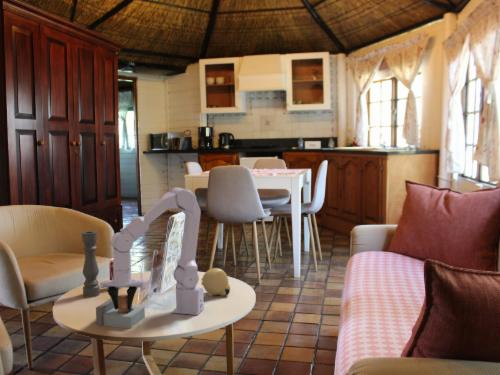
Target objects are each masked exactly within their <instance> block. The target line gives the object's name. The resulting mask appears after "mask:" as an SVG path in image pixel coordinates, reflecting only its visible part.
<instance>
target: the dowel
mask: <svg viewBox="0 0 500 375" xmlns="http://www.w3.org/2000/svg"><path fill="white" fill-rule="evenodd" d="M118 313H124V314H128V313H129V310H128V296H127V294H118Z"/></svg>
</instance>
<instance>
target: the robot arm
mask: <svg viewBox="0 0 500 375" xmlns="http://www.w3.org/2000/svg"><path fill="white" fill-rule="evenodd" d="M178 208H179V209H180V211H181V212H182V213H183V214H184V215H185V216H184V223H183V233H182V239H181V240H182V241H181V248H180V258H179V259H178V261H177V263H176V266H175V269H174V270H173V274H172V276H173V279H174V280H175V281H176V284H175V308H174V309H173V311H172V312H171V313H172V314H181V315H193V316H198V315H199V314H200V313H201V312H202V311H203V309H205V306H204V304H205V303H204V301H205V300H204V287H201V286H198V283H199V280H200V279H199V274H198V264H197V263H196V256H197V248H198V247H197V246H198V241H199V240H198V238H199V229H200V222H201V214H202V213H201V211H202V210H201V208H200V205H199V203H198V201H197V196H196V195H195V193H194V192H193V191H192V190H190V189H188V188H187V189H186V188H182V187H179V186H177V187H175V186H174V187H173V188H171V189H170V190H169V191H168V192H165V193H164V195H163V196H161V198H160V199H159V200H158V201H157V202H156V203H155V204H154V205H153V206H151V208H150V209H148V211H147V212H145V214H144V215H142V216H136V217H132V218H131V219H130V221H131V222H128V224H127V225H126V226H124V227H123V228H122V227H121V229H120V230H119V232H116V233H114V234H113V235H112V237H111V240H110V245H111V247H112V258H113V275H114V280H110V279H109V280H101V281H100V282H99V288H100V289H104V288H107V294H108V296H110V299H112V301H113V304H114V308H115V309H118V296H119V291H120V289H122V288H124V289H125V288H127V289H126V295H127V296H128V310H130V309H131V308H132V306H133V301H134V297H135V294H136V293H137V290H138V289H139V288H140V289H144V288H145V287H146V281H145V280H139V279H138V280H136V279H132V259H131V258H132V257H131V256H132V255H131V249H132V248H133V245H134V242H137V240H138V239H139V238H140V237H142V236H143V235H144V234H145V233H146V232H147V231H148V230H149V228H150V224H151V223H152V222H154V221H155V220H156V219H157V218H158V217H160V216H161V215H162V214H163V213H164V212H166V211H167V210H171V209H178ZM119 288H120V289H119Z"/></svg>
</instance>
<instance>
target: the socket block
mask: <svg viewBox="0 0 500 375" xmlns="http://www.w3.org/2000/svg"><path fill="white" fill-rule="evenodd" d="M145 317H146V310H145V306H135V305H132V308H131V309H130V310H129V313H128V314H124V313H118V309H115V308H113V309H111V310H109V311H108V312H106V313H105V314H103V327H104V326H107V327H114V328H115V327H116V328H117V327H118V328H125V329H127V328H128V329H132V328H133V327H134V326H137V324H138V323H140V322H141V321H142V320H144V318H145Z"/></svg>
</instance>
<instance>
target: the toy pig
mask: <svg viewBox="0 0 500 375" xmlns="http://www.w3.org/2000/svg"><path fill="white" fill-rule="evenodd" d="M200 284H201V286H203V290H205V291H206V292H207V294H206V295H207V296H208V297H210V296H221V297H222V296H223V297H224V296H227V295H230V291H231V285H230V284H229V277H228V275H227V273H226V272H225V271H224V270H223V269H221V268H218V267H213V268H210V269H209V270H207V271H206V272H205V273H204V274H203V276H202V278H201V283H200Z"/></svg>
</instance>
